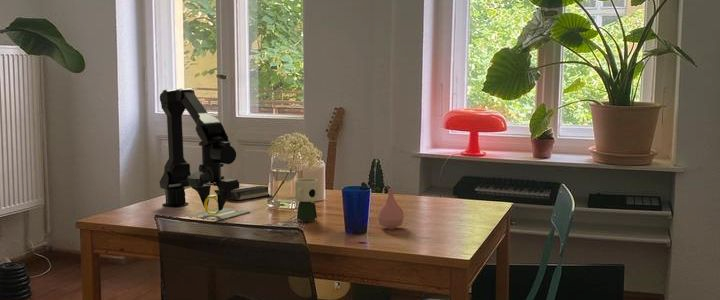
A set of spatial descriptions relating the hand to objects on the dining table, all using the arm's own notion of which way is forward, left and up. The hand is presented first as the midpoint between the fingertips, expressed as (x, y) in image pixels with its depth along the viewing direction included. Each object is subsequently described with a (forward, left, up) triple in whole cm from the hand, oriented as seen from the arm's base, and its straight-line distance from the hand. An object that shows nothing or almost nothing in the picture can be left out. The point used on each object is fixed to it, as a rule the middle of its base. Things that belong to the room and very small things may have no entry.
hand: (213, 209), depth 242 cm
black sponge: (-13, +30, -3) cm, 33 cm away
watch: (0, 0, -2) cm, 2 cm away
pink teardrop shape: (+56, +18, -3) cm, 59 cm away
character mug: (+29, +12, -3) cm, 31 cm away
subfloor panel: (-1, 0, -2) cm, 3 cm away
